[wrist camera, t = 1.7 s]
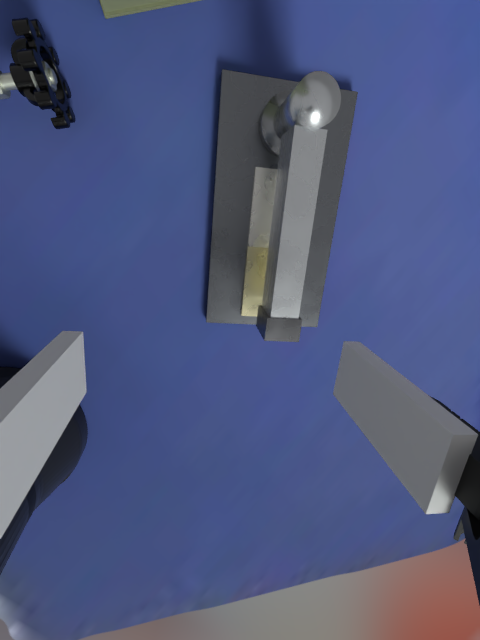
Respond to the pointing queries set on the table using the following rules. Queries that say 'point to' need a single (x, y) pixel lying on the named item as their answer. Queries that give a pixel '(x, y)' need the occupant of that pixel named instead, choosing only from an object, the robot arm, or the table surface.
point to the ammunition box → (136, 6)
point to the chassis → (264, 197)
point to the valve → (37, 73)
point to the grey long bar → (295, 201)
